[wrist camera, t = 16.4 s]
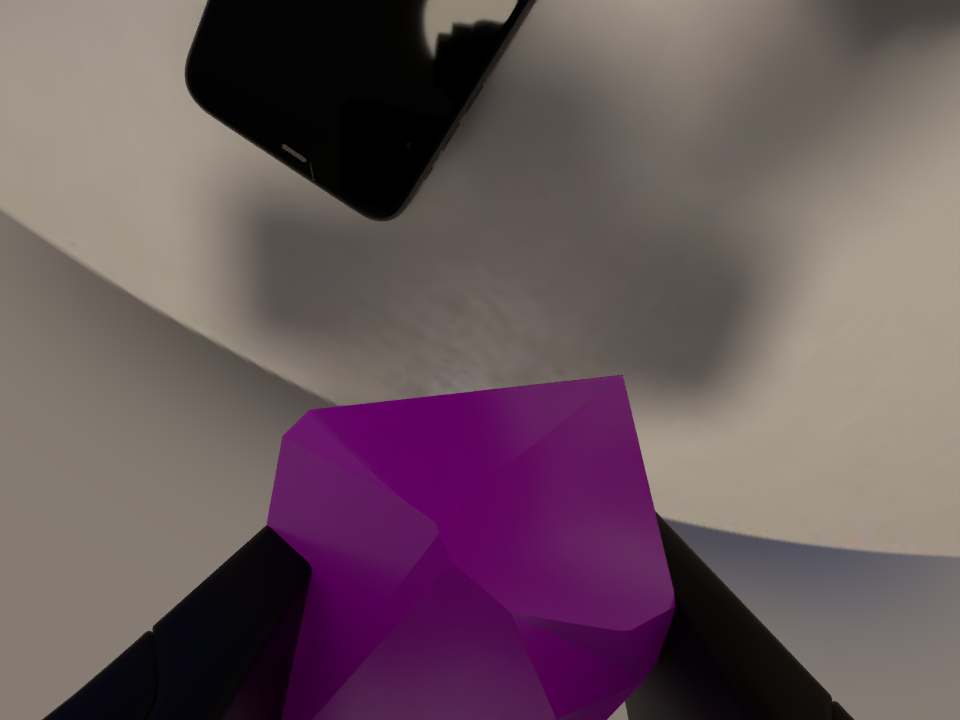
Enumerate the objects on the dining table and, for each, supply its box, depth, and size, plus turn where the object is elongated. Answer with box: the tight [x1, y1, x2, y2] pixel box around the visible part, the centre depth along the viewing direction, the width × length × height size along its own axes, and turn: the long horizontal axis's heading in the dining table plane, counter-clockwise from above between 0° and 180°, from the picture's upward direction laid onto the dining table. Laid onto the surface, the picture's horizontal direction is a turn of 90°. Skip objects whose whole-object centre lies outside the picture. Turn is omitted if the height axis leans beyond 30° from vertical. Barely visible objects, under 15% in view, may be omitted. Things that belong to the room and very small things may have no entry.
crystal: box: [266, 375, 675, 720], centre depth 7 cm, size 5×5×5 cm
